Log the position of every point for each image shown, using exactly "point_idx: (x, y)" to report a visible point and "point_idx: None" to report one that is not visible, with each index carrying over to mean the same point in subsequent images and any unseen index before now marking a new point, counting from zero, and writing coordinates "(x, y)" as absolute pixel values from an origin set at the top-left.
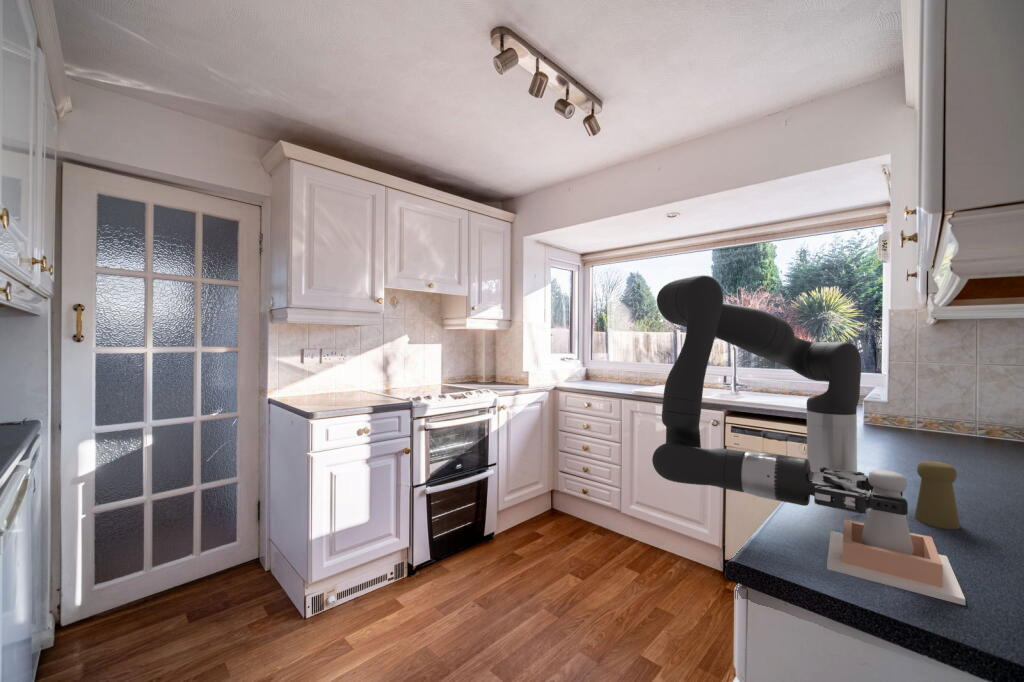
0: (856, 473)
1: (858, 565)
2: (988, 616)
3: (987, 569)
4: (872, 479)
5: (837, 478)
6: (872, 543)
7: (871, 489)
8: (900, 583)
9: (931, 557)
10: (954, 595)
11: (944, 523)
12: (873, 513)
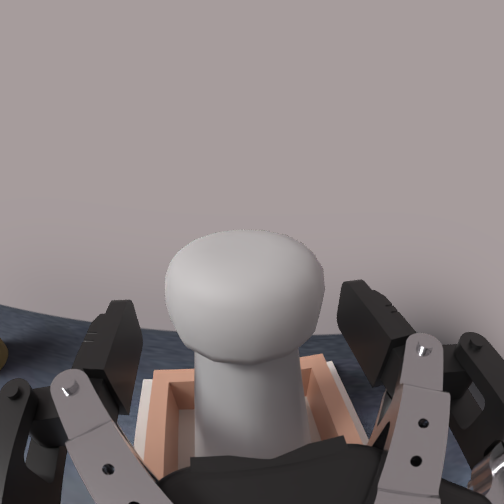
0: (21, 408)
1: None
2: (336, 350)
3: (147, 348)
4: (304, 317)
5: (379, 489)
6: None
7: (122, 402)
8: (360, 425)
9: None
10: (331, 370)
11: (2, 352)
12: (293, 424)
